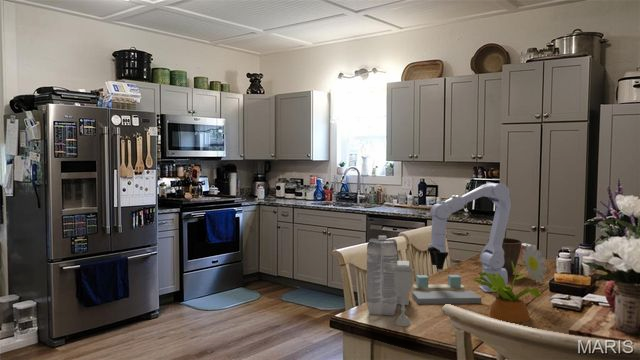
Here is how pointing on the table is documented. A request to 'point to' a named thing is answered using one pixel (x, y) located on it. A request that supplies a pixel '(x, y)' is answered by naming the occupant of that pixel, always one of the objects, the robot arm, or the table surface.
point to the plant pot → (510, 253)
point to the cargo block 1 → (422, 280)
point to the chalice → (403, 290)
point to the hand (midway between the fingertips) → (436, 267)
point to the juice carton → (381, 276)
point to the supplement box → (399, 299)
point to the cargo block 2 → (454, 280)
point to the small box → (520, 259)
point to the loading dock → (445, 297)
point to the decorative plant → (506, 302)
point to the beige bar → (438, 288)
